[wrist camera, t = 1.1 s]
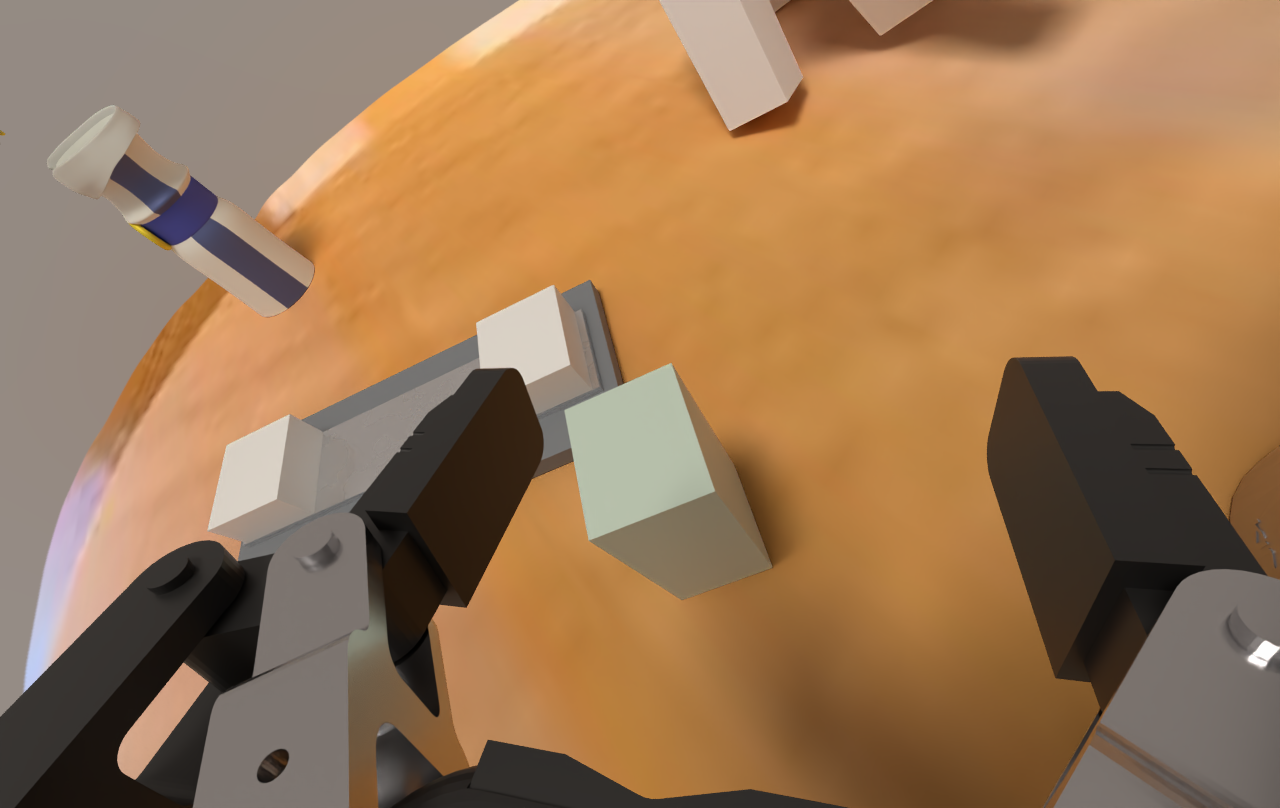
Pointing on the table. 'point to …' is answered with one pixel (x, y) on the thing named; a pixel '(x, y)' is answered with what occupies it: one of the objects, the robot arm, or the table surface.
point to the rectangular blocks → (291, 449)
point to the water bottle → (180, 212)
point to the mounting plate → (396, 435)
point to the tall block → (662, 487)
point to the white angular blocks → (755, 49)
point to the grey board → (455, 357)
